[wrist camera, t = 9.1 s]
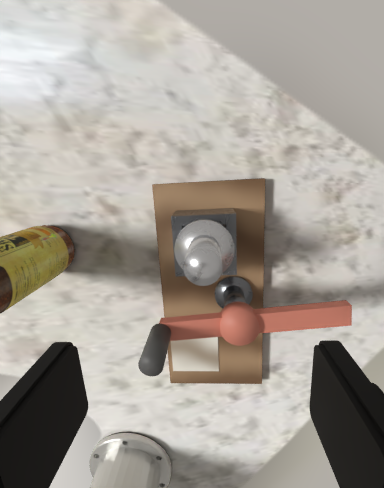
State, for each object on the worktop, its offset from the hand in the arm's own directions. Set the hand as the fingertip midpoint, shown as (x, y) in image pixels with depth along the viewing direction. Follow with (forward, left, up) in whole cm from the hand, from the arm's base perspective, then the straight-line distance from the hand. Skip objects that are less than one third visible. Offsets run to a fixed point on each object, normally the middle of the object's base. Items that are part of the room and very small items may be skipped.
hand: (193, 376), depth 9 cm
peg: (0, 0, -21) cm, 21 cm away
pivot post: (-7, -3, -22) cm, 23 cm away
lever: (-7, -4, -15) cm, 17 cm away
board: (-7, 0, -22) cm, 23 cm away
